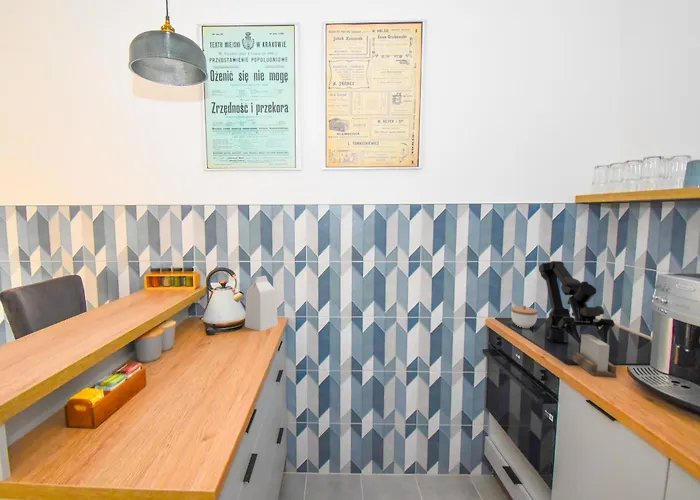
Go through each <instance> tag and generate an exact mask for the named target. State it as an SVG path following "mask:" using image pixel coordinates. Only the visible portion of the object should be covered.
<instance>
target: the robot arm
mask: <svg viewBox="0 0 700 500" xmlns="http://www.w3.org/2000/svg"><path fill="white" fill-rule="evenodd" d="M538 271H539V273H540V277H541V278H542V279H543V280H544V281H545V283H546V289H547V293H548V296H549V297H548V298H549V302H550V307H551V310H550V311H549V313H548V317H547V319H546V320H545V327H547V328H548V329H549V336H546V337H545V338H546V339H547V340H548V341H551V342H553V343H554V344H555V343H568V340H566V339H565V338H566V337H565V335H566V334H567V333H568V335H570V336H571V337H572V338H573V339H574V341H576V342H577V343H578V344H579V345H581V337H580V334H579V332H578V330H577V326H579V327H594V328H595V327H596V330H597V334H598V336H599V339H600V340H601V341H603V342H605V343H606V344H608V332H609V331H610V330H611V329H612V328H613V327H615V326H616V323H615V321H614V319H612V318H600V319H599V320H598V321H595V320H596V319H597V317H601V315H604V314H605V310H604V308H603V305H602V306H601V305H597V306H593V307H592V306H591V307H590V306H588V304H587V303H588V302H590V301H591V299H592V298H593V297H594V296H595V295H596V294H597V289H596V287H595V286H593V285H592V284H590V283H589V282H588V281H580V280H578V279H577V278H574V277H573V276H572V275H571V273H570V272H569V271H568V269H567V268H566V266H565V264H564V261H561V260H552V261H550V262H542V263H541V264H540V265H538ZM558 280H559V281H560V283H561V287H560V286H559V282H558ZM560 289H561V291H560ZM561 292H562V293H563V295H565V296H570V297H569V298H568V299H567V300H568V301H567V305H569V306H570V308H571V310H572V313H571V315H570V310H569V309H568V308H565V307H564V304H563V299H562V296H561V295H562V294H561ZM566 332H567V333H566Z"/></svg>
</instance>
